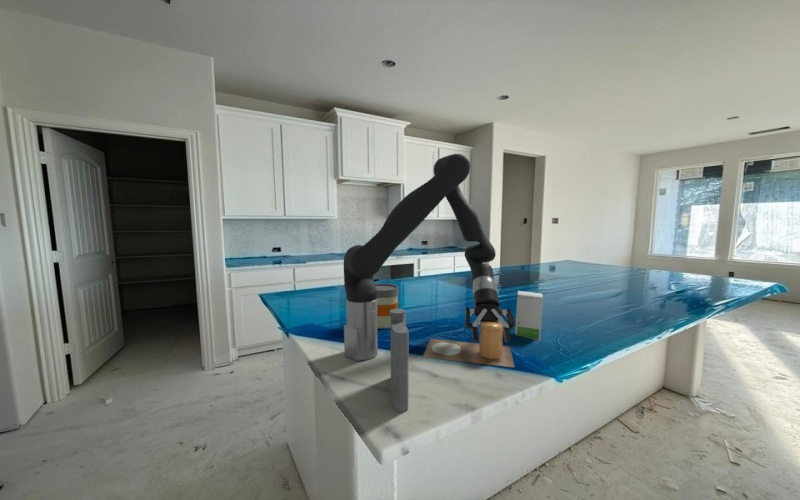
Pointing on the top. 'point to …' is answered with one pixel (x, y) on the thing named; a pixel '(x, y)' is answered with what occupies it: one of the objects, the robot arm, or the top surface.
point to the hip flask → (399, 360)
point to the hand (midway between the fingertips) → (492, 341)
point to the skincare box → (529, 315)
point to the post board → (465, 353)
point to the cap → (491, 339)
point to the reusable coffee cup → (386, 303)
